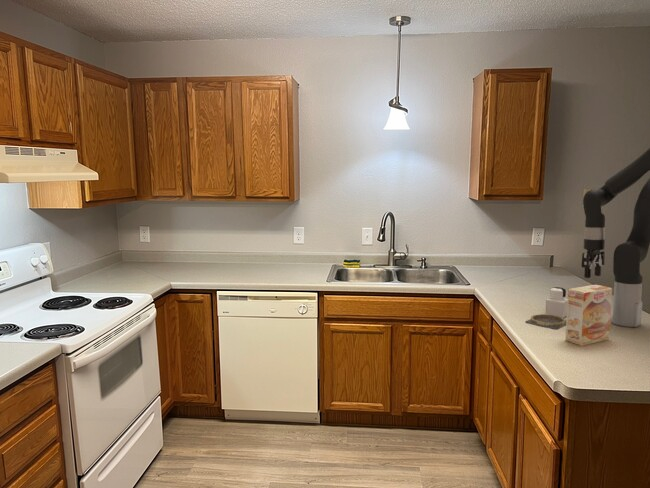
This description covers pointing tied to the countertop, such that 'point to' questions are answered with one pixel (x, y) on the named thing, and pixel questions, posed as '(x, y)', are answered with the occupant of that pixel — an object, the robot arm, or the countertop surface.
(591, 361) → the countertop surface
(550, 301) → the medicine bottle
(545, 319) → the ring seat
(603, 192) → the robot arm
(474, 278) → the countertop surface
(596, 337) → the coffeecake box
